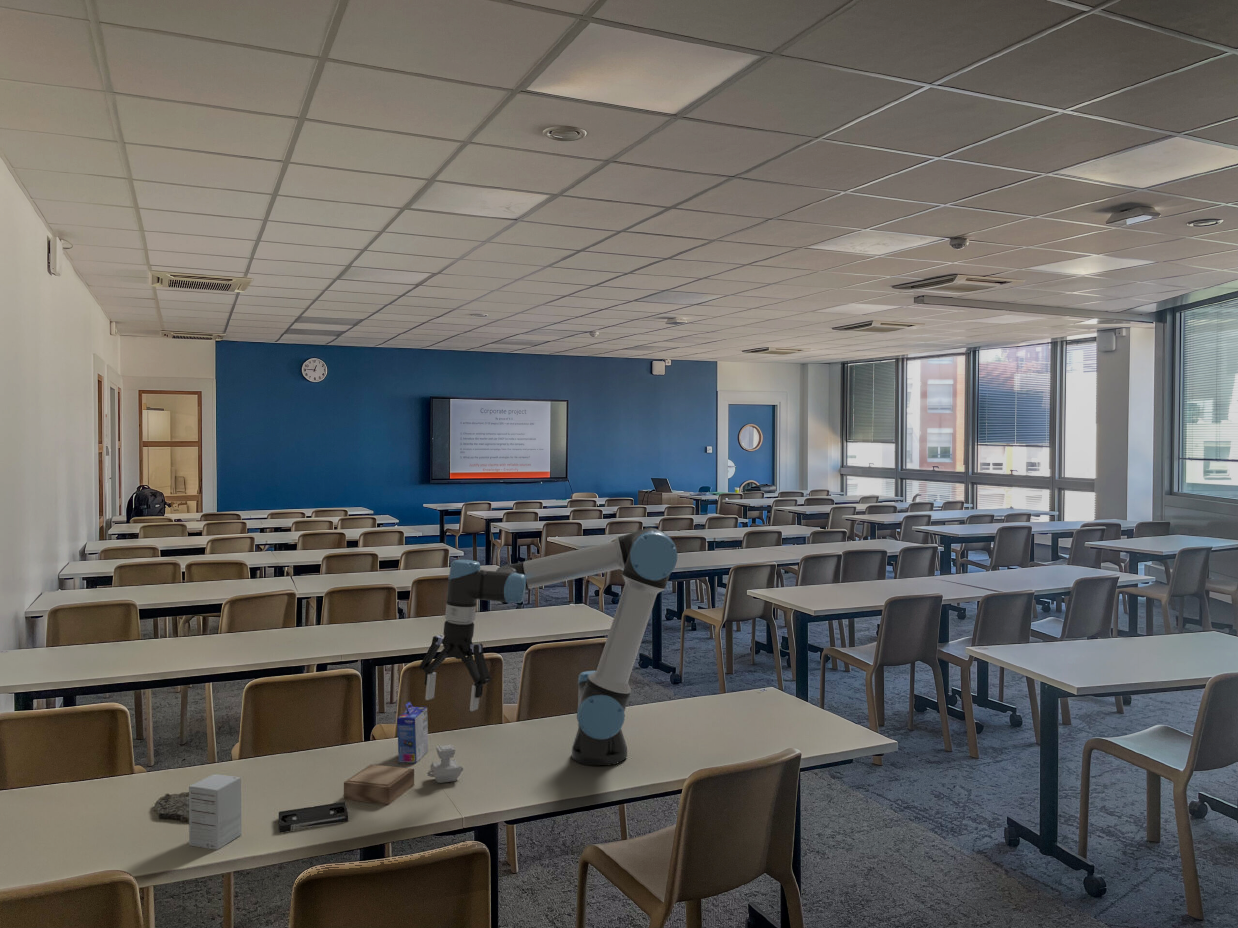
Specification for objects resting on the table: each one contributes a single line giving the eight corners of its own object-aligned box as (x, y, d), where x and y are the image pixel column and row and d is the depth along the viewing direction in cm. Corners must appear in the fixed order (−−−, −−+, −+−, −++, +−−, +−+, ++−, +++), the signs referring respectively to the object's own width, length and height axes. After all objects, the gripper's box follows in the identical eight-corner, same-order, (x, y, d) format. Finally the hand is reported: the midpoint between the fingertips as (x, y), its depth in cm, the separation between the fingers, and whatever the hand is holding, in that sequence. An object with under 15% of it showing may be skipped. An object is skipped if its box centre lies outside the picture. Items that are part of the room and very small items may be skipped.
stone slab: (179, 796, 202) (179, 784, 202) (236, 804, 197) (236, 791, 197) (136, 818, 190) (135, 805, 190) (196, 827, 185) (195, 813, 185)
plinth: (414, 784, 208) (414, 767, 208) (389, 804, 196) (389, 786, 196) (370, 780, 211) (370, 763, 211) (343, 798, 199) (343, 781, 199)
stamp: (460, 772, 216) (460, 740, 216) (465, 782, 210) (465, 748, 210) (425, 777, 213) (425, 744, 212) (429, 787, 206) (429, 753, 206)
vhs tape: (279, 834, 181) (279, 825, 181) (278, 820, 188) (278, 811, 188) (348, 823, 187) (348, 814, 187) (344, 810, 194) (344, 801, 194)
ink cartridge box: (409, 749, 233) (409, 697, 233) (428, 750, 232) (428, 698, 232) (396, 762, 223) (396, 708, 223) (416, 763, 222) (416, 709, 222)
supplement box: (214, 830, 182) (214, 772, 182) (242, 835, 180) (242, 776, 180) (187, 845, 175) (187, 785, 175) (216, 850, 173) (216, 789, 173)
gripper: (410, 614, 215) (402, 697, 215) (493, 631, 205) (484, 717, 205) (428, 611, 222) (420, 691, 222) (509, 627, 211) (501, 710, 212)
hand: (451, 704), depth 213 cm, fingers open, 13 cm apart
